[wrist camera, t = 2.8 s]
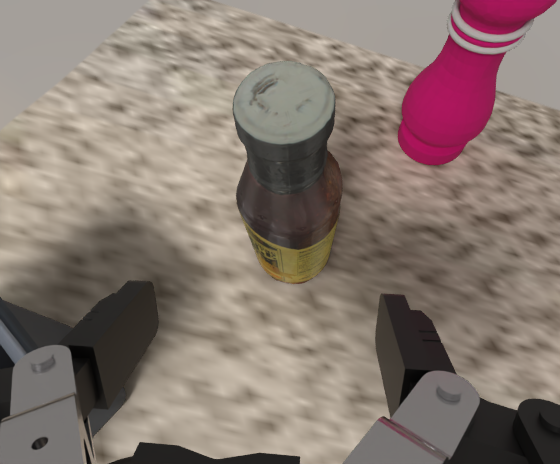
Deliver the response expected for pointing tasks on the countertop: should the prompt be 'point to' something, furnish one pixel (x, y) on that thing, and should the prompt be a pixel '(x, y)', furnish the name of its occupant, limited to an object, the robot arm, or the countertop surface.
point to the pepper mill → (463, 78)
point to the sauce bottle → (288, 168)
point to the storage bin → (35, 334)
